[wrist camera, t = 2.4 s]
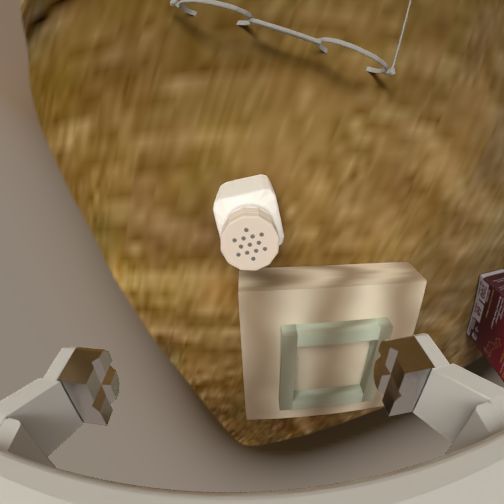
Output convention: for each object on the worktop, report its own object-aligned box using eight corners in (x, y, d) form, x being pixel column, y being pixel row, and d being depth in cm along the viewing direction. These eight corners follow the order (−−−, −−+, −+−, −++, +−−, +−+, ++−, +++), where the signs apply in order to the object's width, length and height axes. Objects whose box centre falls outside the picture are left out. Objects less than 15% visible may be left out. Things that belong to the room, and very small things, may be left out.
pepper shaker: (218, 182, 25) (203, 217, 17) (267, 171, 25) (279, 200, 16) (230, 228, 27) (222, 284, 18) (277, 218, 27) (293, 269, 18)
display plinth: (408, 261, 28) (434, 289, 23) (378, 381, 35) (392, 414, 30) (239, 268, 28) (237, 302, 23) (246, 393, 35) (246, 430, 30)
